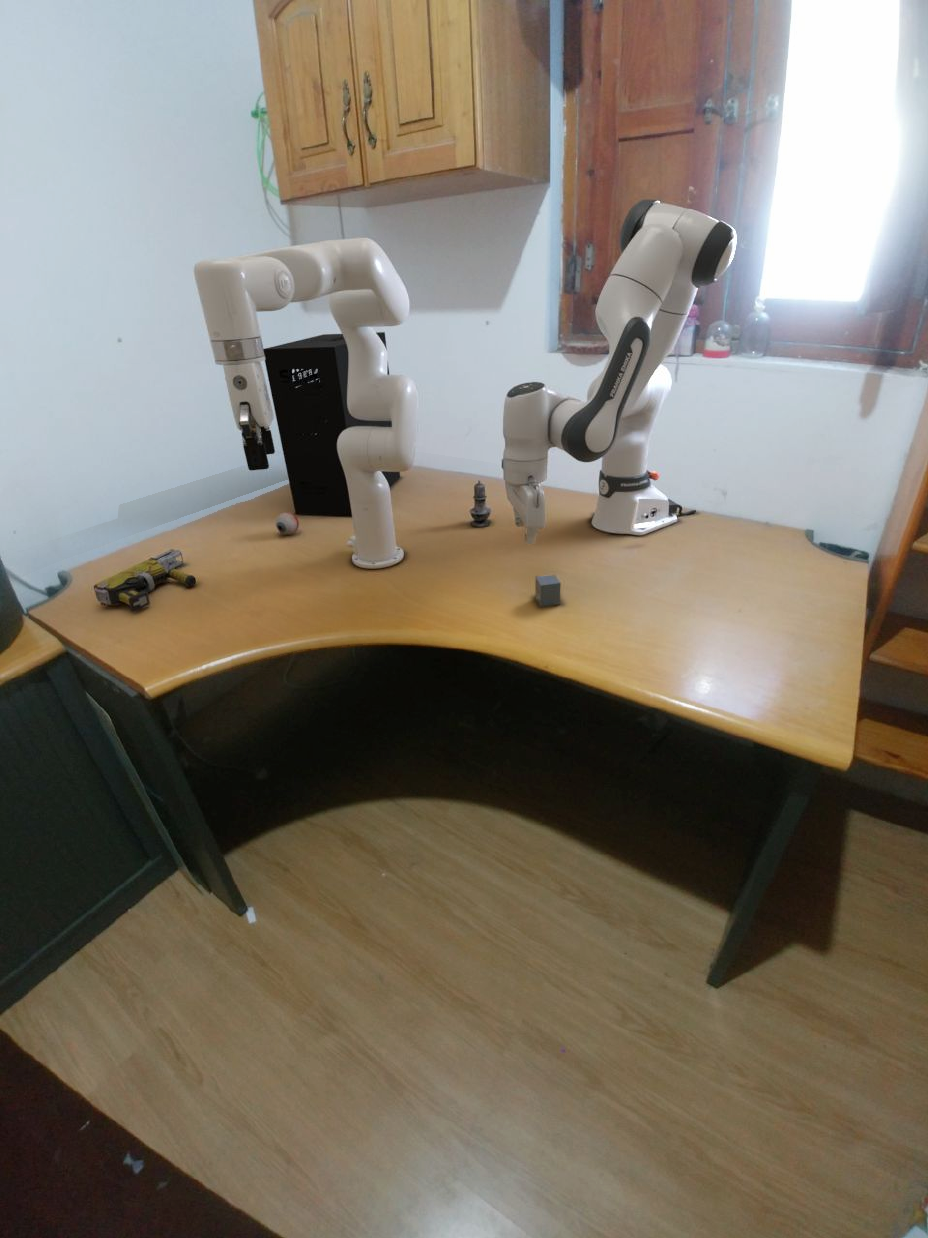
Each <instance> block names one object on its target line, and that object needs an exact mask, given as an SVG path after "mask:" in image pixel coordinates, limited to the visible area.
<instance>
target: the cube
mask: <svg viewBox="0 0 928 1238" xmlns="http://www.w3.org/2000/svg"><path fill="white" fill-rule="evenodd" d="M534 583H535V585H534V587H535V590H534V591H535V596H534V597H535V600H536V601H537V604H538V605H539V606H540V608H542V607H543V608H544V607H550V606H557V605H561V586H562V585H561V581H560V580H559V579H558V577H557V576H556V575H555V574H548V575H541V576H535V582H534Z"/></svg>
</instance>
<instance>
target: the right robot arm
mask: <svg viewBox="0 0 928 1238" xmlns="http://www.w3.org/2000/svg"><path fill="white" fill-rule="evenodd" d="M737 241H738V238H737V233H736V229H734V228H733V227H732V226H731V225H730V224H728V223H727V222H725V221H723V220H717V219H715V218H713V217H711V216H709V215H707V214H705V213H703V212H700V211H698V210H695V209H692V208H685V207H682V206H678V205H675V204H671V203H664V202H661V201H660V200H659V199H650V198H649V199H648V198H644V199H641V200H640V201H638V202H637V203H635V204H634V205H633V206H632V207H631V208H630V209H629V211H628V213H626V216H625V218H624V221H623V222H622V226H621V229H620V232H619V238H618V244H619V249H620V251H621V255H620V257H618V259H617V261H616V263H615V264H614V266H613V268H612V270H611V272H610V274H609V276H608V278H607V280H606V281H605V283H604V286H603V287H602V289H601V291H600V294H599V297H598V300H597V303H596V306H595V319H596V323H597V325H598V328H599V330H600V332H601V333H602V335H604V337H605V338H606V340H607V343H608V347H609V349H608V351H609V352H608V356H607V360H606V362H605V364H604V367H603V370H602V371H601V373H599V375H598V376H596V378H594V379H593V381H592V382H591V383H590V384H589V387H588V389H587V392H586V393H587V394H586V402H585V401H582V400H580V399H577V398H575V397H571V396H568V395H565V394H561V393H559V392H557V391H555V390H553V389H551V388H550V387H548V386H547V385H546V384H545V383H543V382H539V381H532V382H530V381H529V382H524V383H520V384H517V385H515V386H513V387H512V388H510V389H509V390H508V391H507V393H506V395H505V399H504V403H503V413H502V435H503V439H504V448H503V453H502V459H501V469H502V474H503V475H502V477H503V480H504V485H505V493H506V498H507V500H508V502H509V503H510V505H511V506H512V509H513V514H514V524H515V526H516V527H517V528H523V527H525V529H526V531H525V533H524V541H525V542H526V544H527V545H534V544H535V543H536V536H537V533H538V530H544V529H545V527H546V525H547V524H546V523H547V517H546V515H547V514H546V510H547V509H546V508H547V507H546V495H545V492H544V489H542V483H543V482H545V481H546V480H547V479H548V463H549V462H548V460H549V459H548V458H549V450H550V449H552V448H557V449H559V450H561V451H563V452H565V453H566V454H568V455H569V456H570V457H572V458H573V459H575V460H576V461H578V462H580V463H592V462H595V461H598V460H600V459H601V468H600V470H599V474H598V492H599V493H598V498H597V502H596V507H595V511H594V514H593V517H592V520H591V525H592V526H593V527H594V528H595V529H597V530H599V531H601V532H605V533H611V534H623V535H625V534H626V535H632V536H633V535H634V536H645V535H646V534H650V533H652V532H654V531H657V530H660V529H662V528H665V527H668V526H670V525H672V524H675V523H677V522H678V516H677V515H676V514H677V513H678V515H679V516H689V515H692V514H695V513H696V512H697V510H696V509H693V510H690V511H687V512H682V511H683V506H682V505H681V504H678V503H676V502H675V501H673V500H672V499H670V498H668V497H667V496H666V495H665V494H664V493H663V492H661V491H660V490H659V489H658V488H656V487H655V486H654V485H652V483H651V480H653V481H658V479H659V478H660V473H659V472H657V471H654V470H651V471H649V470H648V469H647V466H648V460H649V459H648V458H649V450H650V442H651V438H652V433H653V431H654V428H655V426H656V422H657V419H658V415H659V413H660V411H661V408H662V405H663V403H664V402H665V400H666V399H667V397H668V396H669V394H670V393H671V389H672V377H671V373H670V372H669V370H668V368H667V367H665V366H664V365H662V363H663V362H664V360H666V358H667V357H668V356H669V355H670V354H671V353H672V352H673V350H674V349H675V347H676V344H677V342H678V340H679V338H680V335H681V332H682V330H683V328H684V325H685V323H686V322H687V319H688V316H689V314H690V312H691V309H692V306H693V304H694V301H695V298H696V297H697V292H698V290H699V289H701V288H702V287H704V286H706V287H707V286H710V285H711V284H714V283H716V282H717V281H718V280H720V278H721V277H722V276H723V274H724V273H725V272H726V271H727V270H728V268H729V266H730V265H731V262H732V260H733V258H734V255H735V251H736V246H737Z"/></svg>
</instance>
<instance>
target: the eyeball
mask: <svg viewBox="0 0 928 1238" xmlns="http://www.w3.org/2000/svg"><path fill="white" fill-rule="evenodd" d="M299 525H300V522H299V519H298V517H297V516H296V515H295V513H292V512H287V511H286V512H282V513H280V514H279V515H278V516H277V517H276V520H275V527H276V529H277V530H278V531H279V532H280V533H281V534H282V535H285V536H286V535H287V536H289V535H293V534H295V533H296V532H297V531H298V529H299Z"/></svg>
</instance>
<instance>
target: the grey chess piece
mask: <svg viewBox="0 0 928 1238" xmlns="http://www.w3.org/2000/svg"><path fill="white" fill-rule="evenodd" d="M481 481H482V480H480V479H479V480H478V481H477V483H476V484H474V486H473V491H474V492H473V494H474V495H473V496H472V499H473V501H474V505H473V508H471V509H469V513H470V516H471V518H472V519H473V520H472V521H471V522H470V524H471V526H473V527H477V528H479V527H480V528H482V527H487V526H490V525H491V521H490V520H489V517H490V516H491V512H492V509H491V508H490V507H488V506H487V501H486V499H487V495H486V486H485V484H483V483H481Z"/></svg>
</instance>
